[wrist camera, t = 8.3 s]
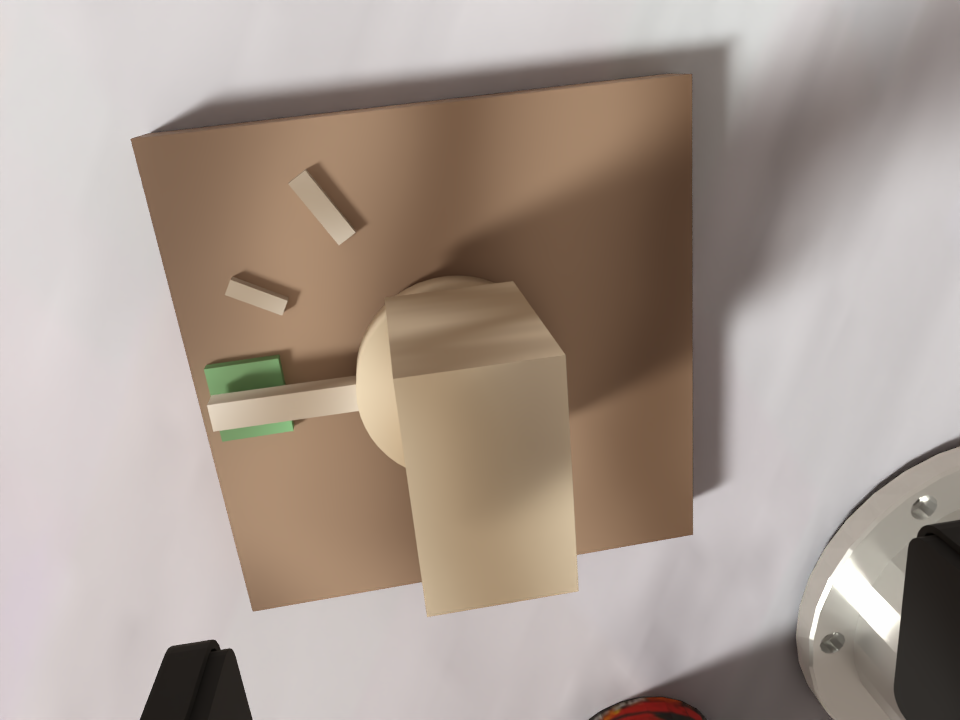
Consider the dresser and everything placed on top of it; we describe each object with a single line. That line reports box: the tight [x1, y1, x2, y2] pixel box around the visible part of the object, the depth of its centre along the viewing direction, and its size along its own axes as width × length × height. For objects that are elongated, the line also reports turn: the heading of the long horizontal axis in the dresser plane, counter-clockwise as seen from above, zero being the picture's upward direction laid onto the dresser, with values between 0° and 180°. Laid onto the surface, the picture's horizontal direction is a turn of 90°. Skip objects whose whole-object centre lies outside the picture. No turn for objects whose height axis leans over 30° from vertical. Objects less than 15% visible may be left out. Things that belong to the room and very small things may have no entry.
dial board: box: [131, 74, 693, 611], centre depth 21 cm, size 13×13×2 cm
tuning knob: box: [207, 275, 579, 617], centre depth 17 cm, size 8×5×6 cm, turn 95°
